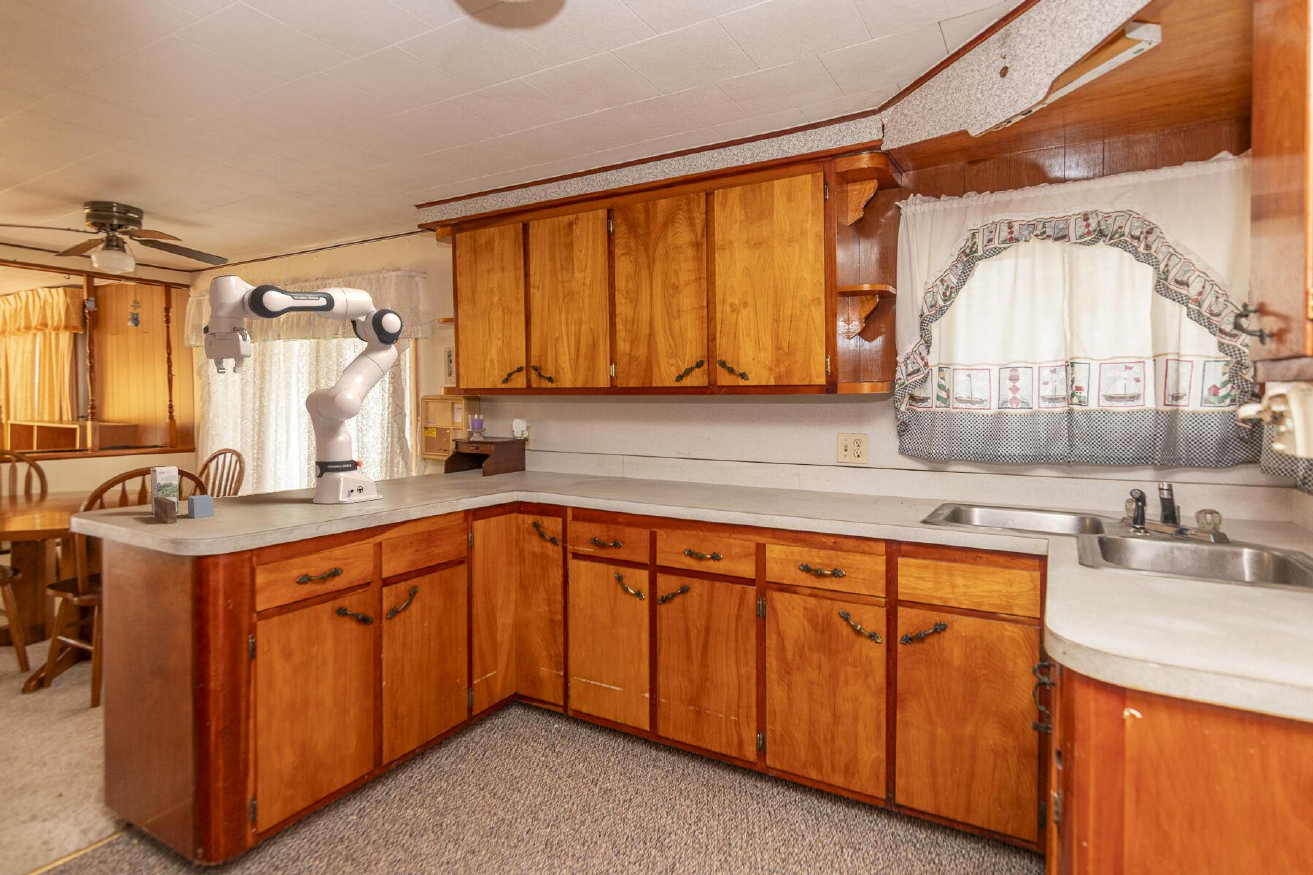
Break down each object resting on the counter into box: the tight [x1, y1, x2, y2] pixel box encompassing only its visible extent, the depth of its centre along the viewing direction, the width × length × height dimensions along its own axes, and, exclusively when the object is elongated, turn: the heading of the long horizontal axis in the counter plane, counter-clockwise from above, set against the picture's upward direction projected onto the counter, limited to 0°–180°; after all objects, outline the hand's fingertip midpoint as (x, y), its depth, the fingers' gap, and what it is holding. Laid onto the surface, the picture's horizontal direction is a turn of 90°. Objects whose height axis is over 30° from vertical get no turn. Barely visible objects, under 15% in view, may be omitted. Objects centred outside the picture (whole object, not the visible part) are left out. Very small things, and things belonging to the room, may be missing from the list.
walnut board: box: [154, 497, 178, 525], centre depth 201 cm, size 2×16×6 cm, turn 47°
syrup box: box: [150, 465, 180, 515], centre depth 212 cm, size 6×6×14 cm
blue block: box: [187, 494, 215, 519], centre depth 207 cm, size 5×7×6 cm
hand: (229, 373), depth 212 cm, fingers open, 8 cm apart
